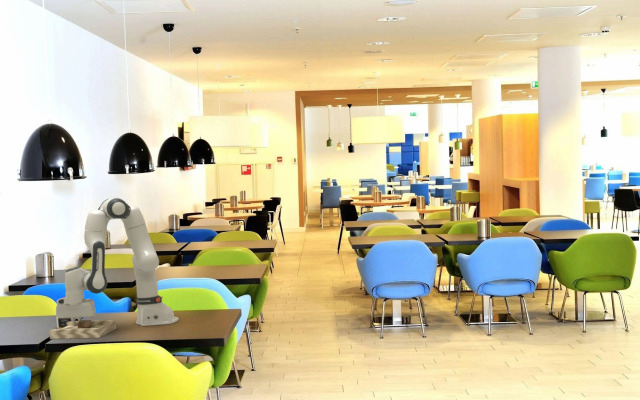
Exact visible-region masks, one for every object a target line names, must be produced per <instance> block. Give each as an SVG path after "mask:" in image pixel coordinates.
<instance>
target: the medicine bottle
mask: <svg viewBox="0 0 640 400" xmlns="http://www.w3.org/2000/svg"><path fill="white" fill-rule="evenodd" d="M55 320H56V328H57V329H62V328H64V327H66V326H67V322H71V318H57V316H56V315H55Z"/></svg>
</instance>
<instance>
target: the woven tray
mask: <svg viewBox="0 0 640 400" xmlns="http://www.w3.org/2000/svg"><path fill="white" fill-rule="evenodd" d="M75 321H76V322H78V320H75ZM116 325H117V324H116V320H115V319H113V320H111V319H109V320H108V319H107V320H91V327H92V328H85V329H78V326H73V322H72V321H71V322H67V326H66V327H64V328H62V329H58V328H57V329H52V328H51V329H49V331H48V332H49V339H50V340H59V339H60V340H65V339H68V340H70V338H71V339H97V338H98V339H99V338H101V337H104V336H105V335H107V334H109V333H111V332H113V331H114V330H116V329H117V326H116Z"/></svg>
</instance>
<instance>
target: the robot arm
mask: <svg viewBox="0 0 640 400" xmlns="http://www.w3.org/2000/svg"><path fill="white" fill-rule="evenodd" d="M119 219H120V221H121V222H122V223H123V228H124V230H125V235H126V237H127V240H128V243H129V246H130V249H131V250H132V253H133V255H132V257H131V261H132V265H133V272H134V277H135V284H136V285H135V286H136V307H137V313H136V314H137V315H136V321H135V324H136V325H140V327H141V326H142V327H145V326H147V327H148V326H161V325H171V324H174V323H176V322H178V321H179V319H180V318H179V317H178V316H175V313H174V310H173V308H171V306H168V305H167V304H166V303H164V302H163V296H160V295H159V289H158V287H159V285H158V279H157V276H156V271H155V270H156V269H157V268H158V267H159V265H160V259H159V257H158V254H157V252H156V249H155V246H154V245H153V242H152V239H151V237H150V235H149V229H148V228H147V223H146V221H145V218H144V215H143V213H142V212H141V210H140V208H139V207H138V206H136V205H129V204H128V203H127V202H126V201H125V200H124V199H121V198H120V197H111V198H107V199H105V200H104V201H102V203H101V204H100V206H99V207H98V208H97V209H94V210H90V211H89V212H88V213H87V216H86V220H85V225H84V234H83V239H84V244H85V245H86V247H87V248H88V249H89V252H90V254H91V271H90V270H87V269H84V268H82V267H80V266H73V267H70V268H68V269H67V270H65V273H64V287H65V296H63V297H62V298H59V299H57V300H56V307H55V317H56V316H57V318H71V321H72V322H73V326H77V322H76V321H78V322H79V321H82V320H83V318H93V317H95V316H96V315H97V314H96V306H95V303H96V302H95V301H94V300H93V298H85V292H84V291H89V292H91V294H101V293H103V292H104V291H105V290H106V289H107V286H108V280H107V276H106V273H105V264H106V242H107V235H108V234H107V233H108V225H109V222H110V221H111V220H119ZM76 319H77V320H76Z"/></svg>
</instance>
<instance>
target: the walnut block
mask: <svg viewBox="0 0 640 400" xmlns="http://www.w3.org/2000/svg"><path fill="white" fill-rule="evenodd" d="M91 321H92V319H91V320H90V319H85V320H83V319H81V321H79V322H77V326H78V329H85V328H92V327H91Z"/></svg>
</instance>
